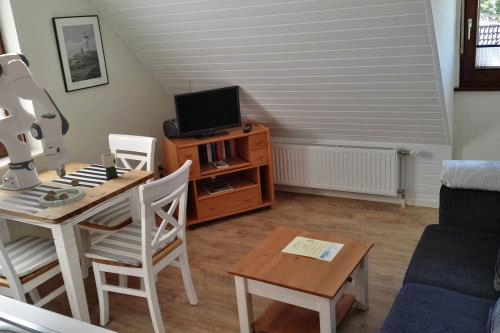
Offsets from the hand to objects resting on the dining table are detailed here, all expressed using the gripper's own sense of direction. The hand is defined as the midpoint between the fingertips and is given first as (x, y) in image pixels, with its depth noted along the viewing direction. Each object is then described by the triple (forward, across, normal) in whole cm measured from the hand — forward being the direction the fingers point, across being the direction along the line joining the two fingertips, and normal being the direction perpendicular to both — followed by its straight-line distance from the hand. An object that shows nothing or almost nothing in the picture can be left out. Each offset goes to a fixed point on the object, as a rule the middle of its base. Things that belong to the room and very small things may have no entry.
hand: (61, 173), depth 256 cm
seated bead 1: (+11, +4, -6) cm, 13 cm away
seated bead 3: (+11, +11, +3) cm, 15 cm away
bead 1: (+2, 0, 0) cm, 2 cm away
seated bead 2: (+11, +10, -4) cm, 15 cm away
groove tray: (+12, +6, 0) cm, 13 cm away
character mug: (+12, -24, +17) cm, 32 cm away
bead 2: (+12, -15, 0) cm, 19 cm away
